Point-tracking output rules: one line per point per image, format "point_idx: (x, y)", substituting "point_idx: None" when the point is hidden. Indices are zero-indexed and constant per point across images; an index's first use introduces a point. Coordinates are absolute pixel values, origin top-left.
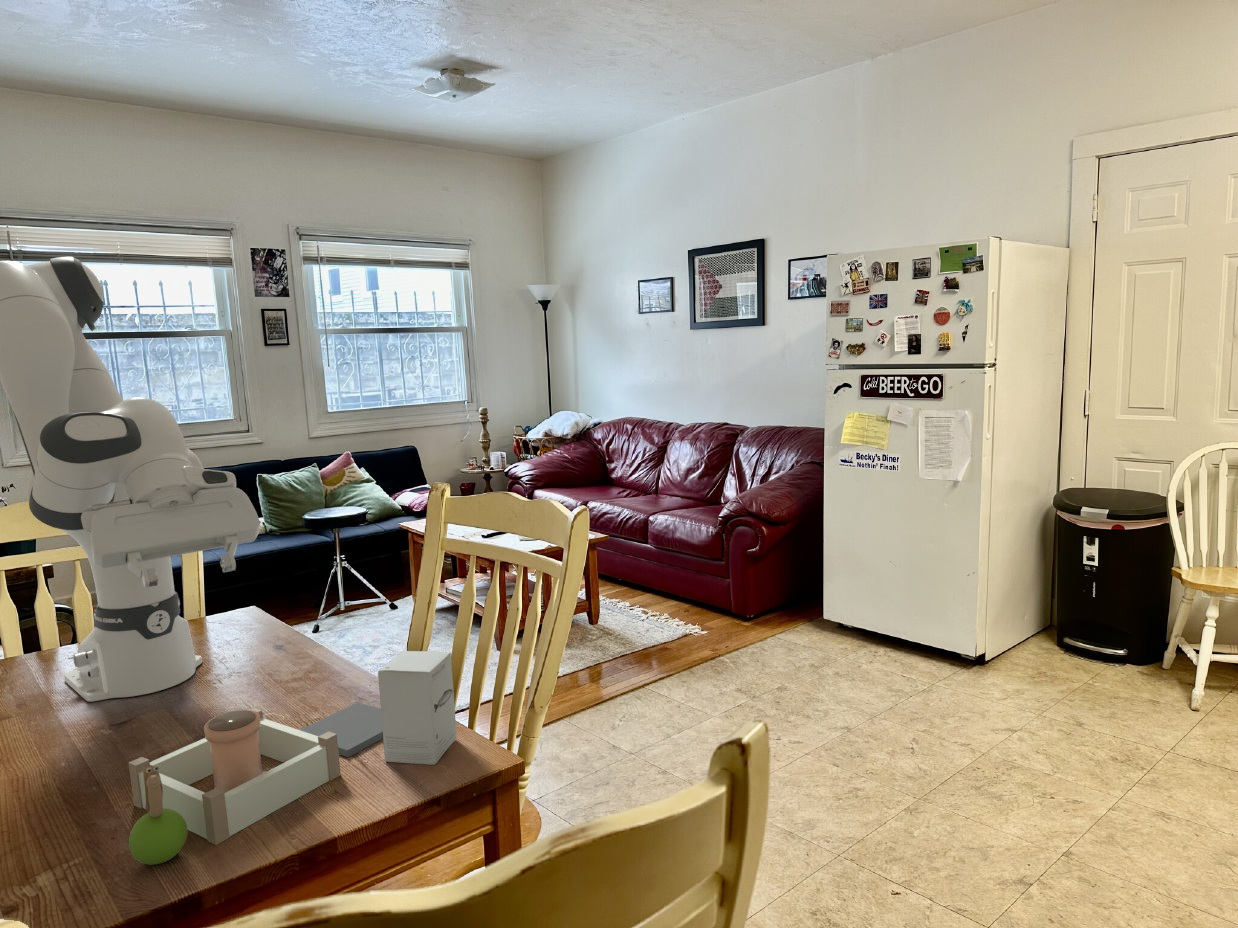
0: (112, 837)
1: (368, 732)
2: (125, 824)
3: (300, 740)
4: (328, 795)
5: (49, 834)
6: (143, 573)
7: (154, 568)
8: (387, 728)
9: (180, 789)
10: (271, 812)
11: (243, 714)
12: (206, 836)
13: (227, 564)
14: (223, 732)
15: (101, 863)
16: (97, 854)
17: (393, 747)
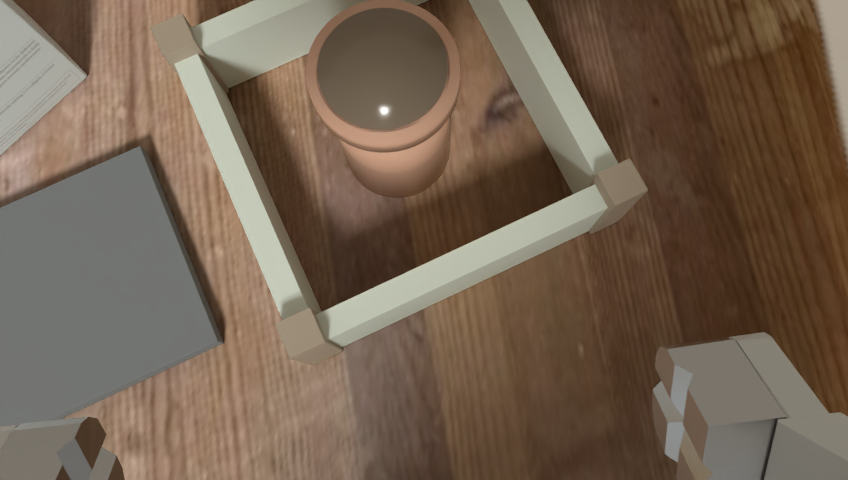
0: (657, 104)
1: (60, 211)
2: (633, 143)
3: (230, 126)
4: None
5: (784, 198)
6: (802, 384)
7: (710, 420)
8: (32, 23)
9: (529, 15)
10: None
11: (346, 85)
12: None
13: (58, 420)
14: (416, 7)
15: (671, 17)
16: (681, 54)
17: (52, 40)
